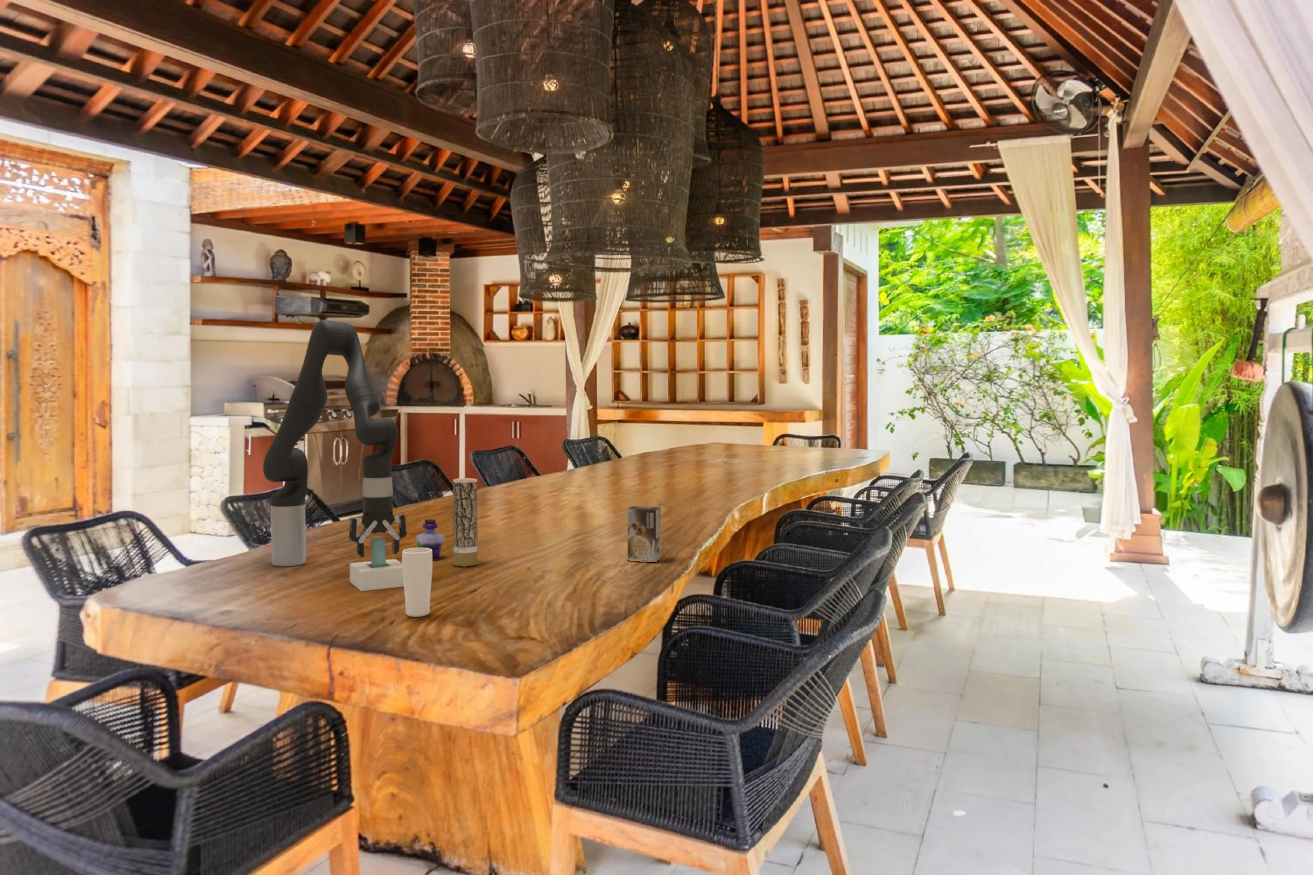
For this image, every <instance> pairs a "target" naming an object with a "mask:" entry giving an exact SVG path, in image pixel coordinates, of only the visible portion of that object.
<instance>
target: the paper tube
mask: <svg viewBox="0 0 1313 875" xmlns="http://www.w3.org/2000/svg"><path fill="white" fill-rule="evenodd" d="M452 485H453V486H452V488H453V489H452V490H453V492H452V495H453V497H452V501H453V502H452V504H453V506H452V509H453V511H452V512H453V514H452V515H453V517H452V518H453V526H452V527H453V531H452V532H453V533H452V534H453V537H452V538H453V564H454V566H456V567H459V566H462V567H461V568H467V566H470V567H474V566H476V565H477V564H478V479H477V478H469V477H464V478H463V477H462V478H454V479H453V480H452Z"/></svg>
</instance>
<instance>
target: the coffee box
mask: <svg viewBox="0 0 1313 875" xmlns="http://www.w3.org/2000/svg"><path fill="white" fill-rule="evenodd" d="M659 558H661V507H660V506H659V507H657V506H643V505H642V506H641V505H639V506H638V505H632V506H630V507H629V508H627V560H628V559H635V560H647V561H657V560H658V559H659Z"/></svg>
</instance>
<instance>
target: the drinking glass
mask: <svg viewBox="0 0 1313 875" xmlns="http://www.w3.org/2000/svg"><path fill="white" fill-rule="evenodd" d="M401 553H402V554H401V563H402V573H403V583H404V587H403V593H404V600H405V601H404V604H405V615H406V616H408V617H414V618H420V617H425V616H428V615H429V614H430V611H431V610H430V606H431V604H430V603H431V589H432V578H433V560H432V549H429V548H418V547H410V548H404V549H403V550H402V552H401Z"/></svg>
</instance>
